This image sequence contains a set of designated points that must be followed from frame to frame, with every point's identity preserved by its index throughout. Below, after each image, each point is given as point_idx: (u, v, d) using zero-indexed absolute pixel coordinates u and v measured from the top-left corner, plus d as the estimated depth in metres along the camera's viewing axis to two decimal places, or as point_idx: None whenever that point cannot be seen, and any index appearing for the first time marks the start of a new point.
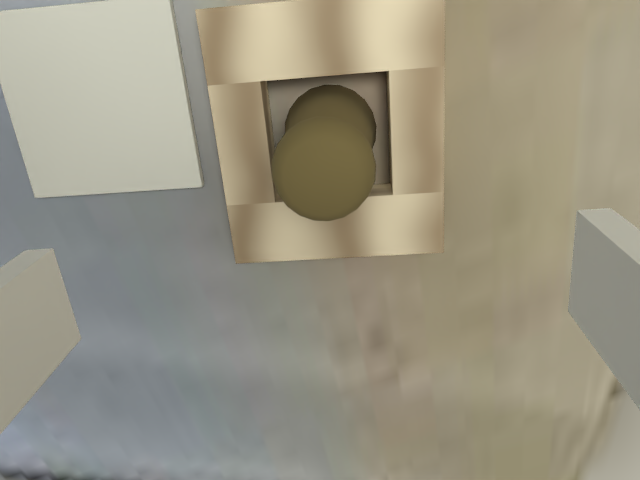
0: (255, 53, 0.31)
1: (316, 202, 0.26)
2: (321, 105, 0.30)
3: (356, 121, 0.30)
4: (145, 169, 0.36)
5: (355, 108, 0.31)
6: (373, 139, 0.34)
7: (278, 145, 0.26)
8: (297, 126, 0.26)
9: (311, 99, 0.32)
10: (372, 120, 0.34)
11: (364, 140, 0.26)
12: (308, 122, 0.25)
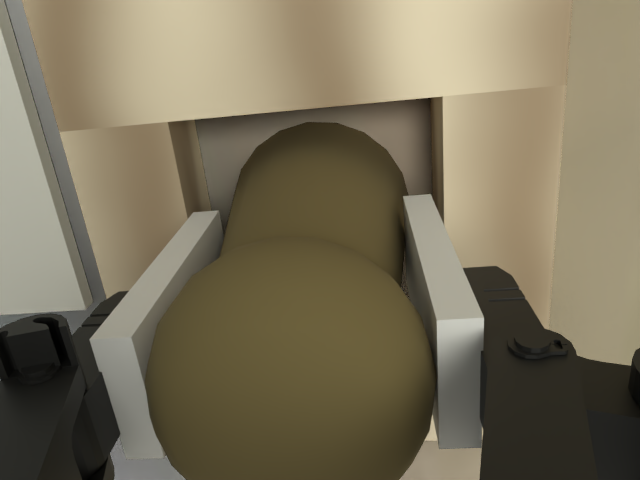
0: (153, 62, 0.14)
1: None
2: (295, 178, 0.13)
3: (375, 218, 0.13)
4: None
5: (370, 178, 0.15)
6: None
7: (159, 329, 0.09)
8: (209, 279, 0.09)
9: (277, 158, 0.15)
10: (403, 192, 0.17)
11: (406, 316, 0.09)
12: (240, 269, 0.09)
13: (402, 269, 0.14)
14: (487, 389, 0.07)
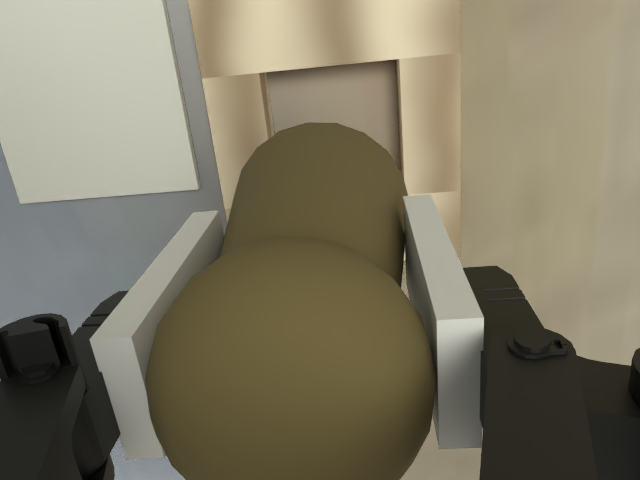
0: (253, 41, 0.29)
1: None
2: (295, 179, 0.13)
3: (375, 218, 0.13)
4: (137, 171, 0.34)
5: (370, 179, 0.15)
6: None
7: (159, 329, 0.09)
8: (209, 280, 0.09)
9: (278, 158, 0.15)
10: (403, 193, 0.17)
11: (406, 317, 0.09)
12: (240, 270, 0.09)
13: (402, 269, 0.14)
14: (487, 389, 0.07)
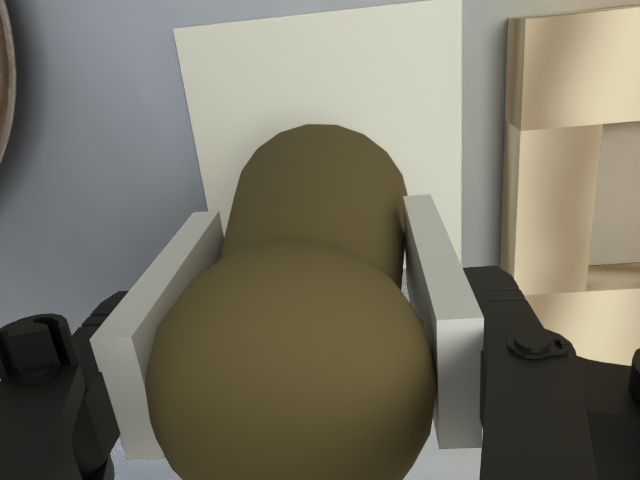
0: (606, 82, 0.21)
1: None
2: (295, 180, 0.13)
3: (375, 220, 0.13)
4: None
5: (370, 180, 0.15)
6: None
7: (159, 332, 0.09)
8: (209, 283, 0.09)
9: (278, 160, 0.15)
10: (403, 194, 0.17)
11: (406, 320, 0.09)
12: (240, 273, 0.09)
13: (402, 271, 0.14)
14: (486, 389, 0.07)
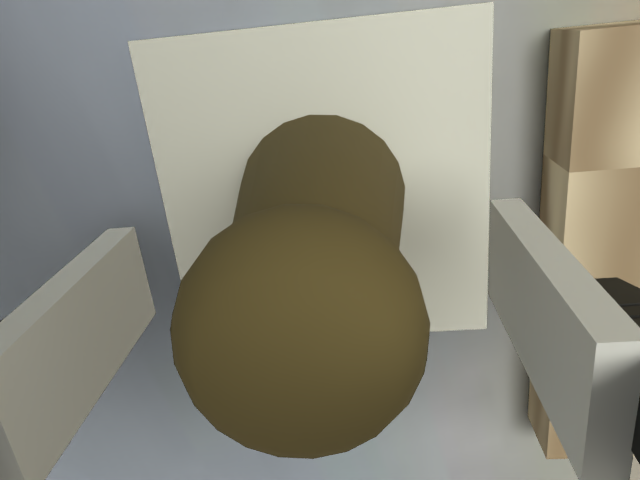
0: None
1: (281, 432, 0.10)
2: (300, 160, 0.15)
3: (373, 195, 0.14)
4: None
5: (369, 163, 0.16)
6: (402, 215, 0.18)
7: (183, 282, 0.10)
8: (228, 237, 0.10)
9: (283, 145, 0.16)
10: (399, 179, 0.18)
11: (402, 269, 0.10)
12: (256, 227, 0.10)
13: None
14: None
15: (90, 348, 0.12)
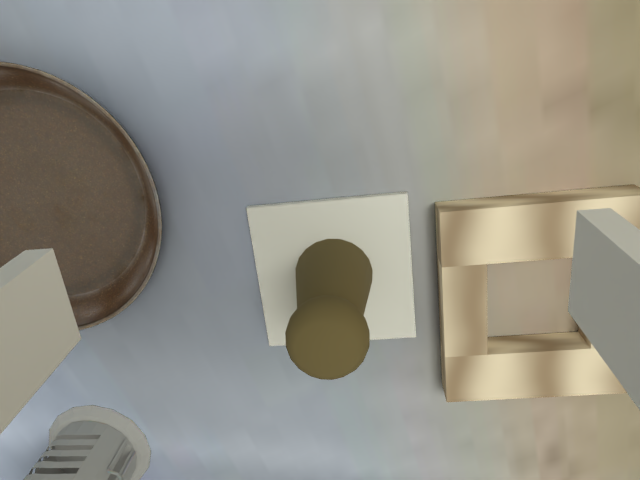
0: (486, 243, 0.38)
1: (322, 369, 0.32)
2: (325, 270, 0.37)
3: (354, 284, 0.36)
4: (368, 323, 0.43)
5: (353, 267, 0.38)
6: (370, 285, 0.40)
7: (290, 322, 0.32)
8: (305, 308, 0.32)
9: (317, 258, 0.38)
10: (368, 268, 0.40)
11: (359, 318, 0.32)
12: (314, 306, 0.32)
13: (366, 302, 0.38)
14: None
15: None
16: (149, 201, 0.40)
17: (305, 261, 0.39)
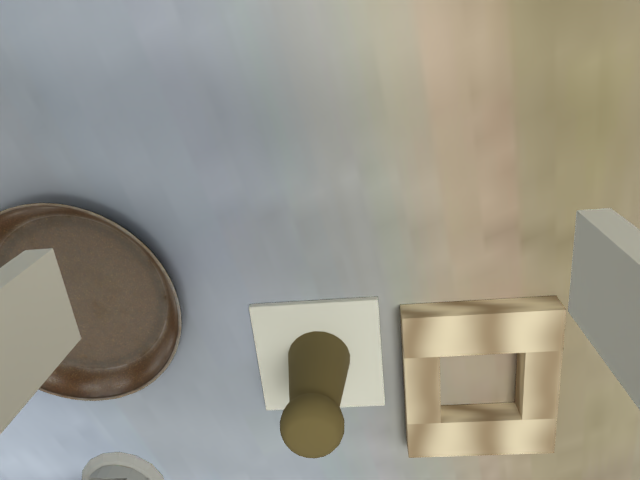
0: (438, 341, 0.48)
1: (307, 452, 0.42)
2: (311, 365, 0.47)
3: (333, 378, 0.46)
4: (346, 394, 0.53)
5: (334, 360, 0.48)
6: (347, 370, 0.50)
7: (284, 416, 0.42)
8: (295, 406, 0.42)
9: (305, 351, 0.48)
10: (346, 356, 0.50)
11: (336, 414, 0.42)
12: (302, 405, 0.42)
13: (343, 388, 0.48)
14: None
15: None
16: (170, 300, 0.50)
17: (296, 351, 0.49)
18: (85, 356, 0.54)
